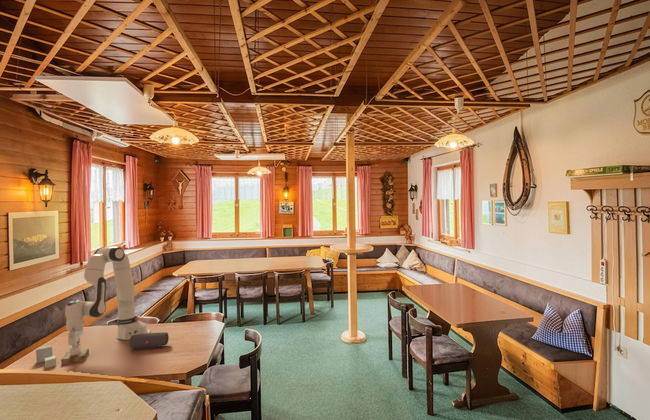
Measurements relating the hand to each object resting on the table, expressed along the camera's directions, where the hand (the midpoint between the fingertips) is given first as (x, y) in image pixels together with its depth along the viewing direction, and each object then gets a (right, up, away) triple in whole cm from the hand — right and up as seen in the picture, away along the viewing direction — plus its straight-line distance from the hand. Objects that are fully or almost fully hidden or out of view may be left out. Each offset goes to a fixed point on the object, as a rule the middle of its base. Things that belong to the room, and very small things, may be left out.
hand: (76, 346), depth 215 cm
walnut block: (0, -9, 0) cm, 9 cm away
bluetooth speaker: (+40, -7, +14) cm, 43 cm away
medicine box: (-20, -9, -1) cm, 22 cm away
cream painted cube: (-1, -5, 0) cm, 5 cm away
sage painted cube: (-10, -9, -9) cm, 16 cm away
